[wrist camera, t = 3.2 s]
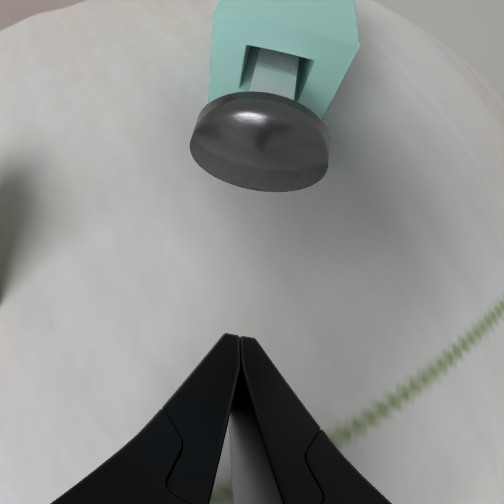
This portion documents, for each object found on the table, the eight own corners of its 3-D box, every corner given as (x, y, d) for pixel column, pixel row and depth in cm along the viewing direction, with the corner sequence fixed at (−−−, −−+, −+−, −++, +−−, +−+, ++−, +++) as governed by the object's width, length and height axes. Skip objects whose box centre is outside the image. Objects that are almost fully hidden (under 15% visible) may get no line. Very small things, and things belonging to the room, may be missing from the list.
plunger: (305, 201, 20) (349, 140, 13) (191, 177, 19) (187, 103, 12) (317, 67, 23) (344, 3, 16) (232, 48, 22) (242, -22, 16)
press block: (308, 143, 24) (359, 47, 14) (207, 122, 24) (213, 13, 14) (316, 52, 27) (349, -30, 17) (237, 34, 27) (251, -53, 17)
